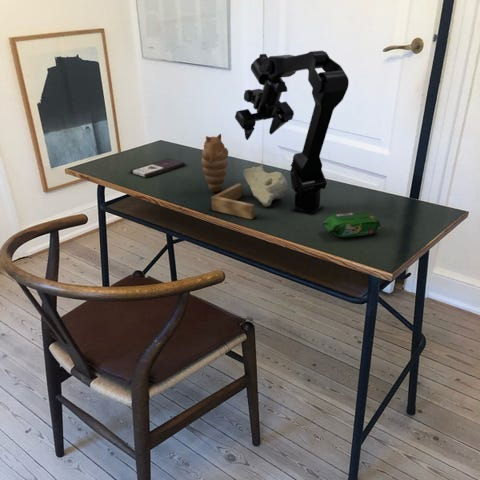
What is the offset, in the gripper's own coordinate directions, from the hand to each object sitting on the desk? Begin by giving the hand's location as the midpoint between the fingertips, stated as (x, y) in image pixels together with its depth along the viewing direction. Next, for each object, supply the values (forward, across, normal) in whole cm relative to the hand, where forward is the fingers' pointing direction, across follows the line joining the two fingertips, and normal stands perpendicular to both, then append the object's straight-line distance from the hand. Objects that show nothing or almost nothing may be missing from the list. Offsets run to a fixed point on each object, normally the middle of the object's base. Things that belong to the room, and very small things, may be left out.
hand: (258, 136), depth 171 cm
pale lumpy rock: (+5, +10, +21) cm, 23 cm away
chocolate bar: (+27, +24, -20) cm, 41 cm away
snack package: (-12, +4, +52) cm, 53 cm away
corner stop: (+3, +18, +23) cm, 29 cm away
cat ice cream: (+11, +19, +9) cm, 23 cm away
